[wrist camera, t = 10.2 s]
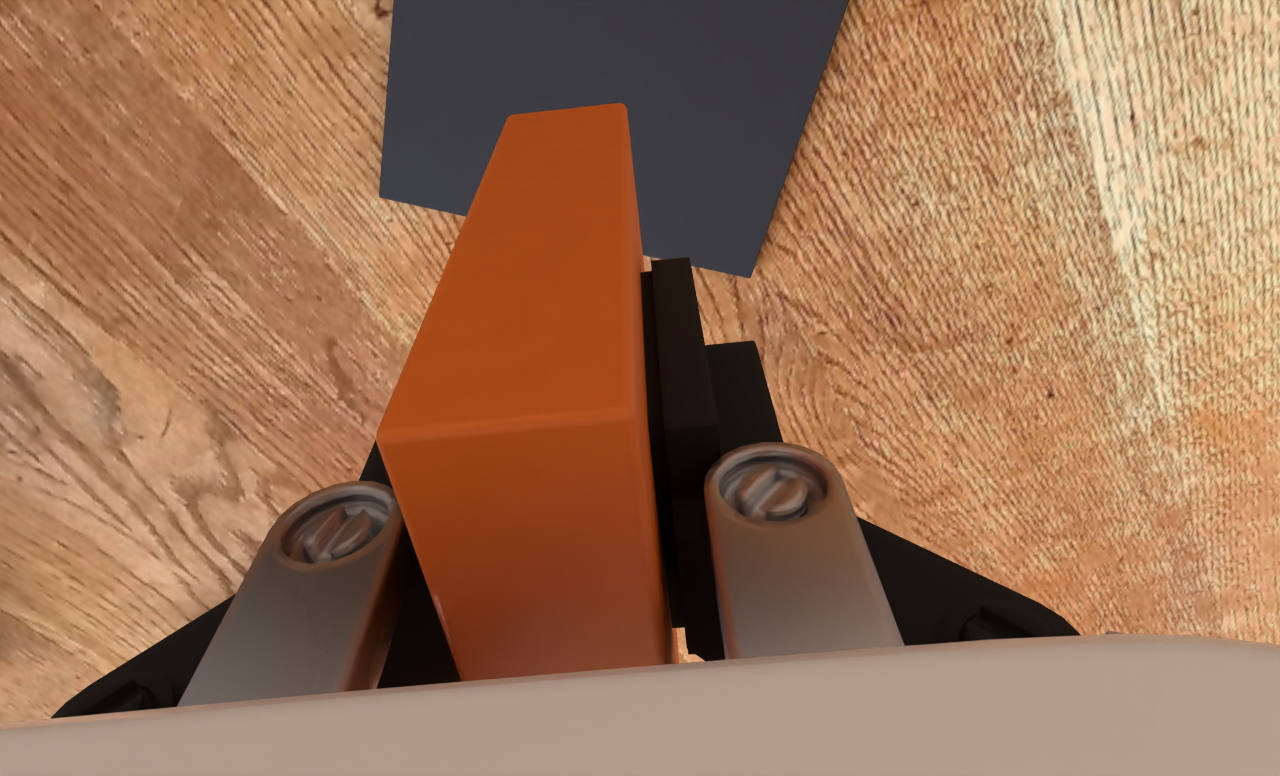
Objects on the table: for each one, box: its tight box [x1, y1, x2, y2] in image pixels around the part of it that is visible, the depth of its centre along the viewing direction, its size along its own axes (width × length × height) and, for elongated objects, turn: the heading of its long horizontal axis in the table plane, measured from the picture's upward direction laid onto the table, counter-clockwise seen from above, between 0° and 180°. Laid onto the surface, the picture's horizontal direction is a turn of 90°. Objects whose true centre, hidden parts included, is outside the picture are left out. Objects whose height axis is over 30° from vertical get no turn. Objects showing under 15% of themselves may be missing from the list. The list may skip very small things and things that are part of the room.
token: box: [376, 103, 679, 682], centre depth 10 cm, size 2×6×8 cm, turn 6°
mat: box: [379, 0, 849, 278], centre depth 23 cm, size 12×10×1 cm
